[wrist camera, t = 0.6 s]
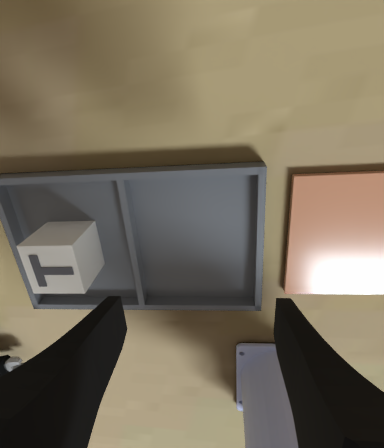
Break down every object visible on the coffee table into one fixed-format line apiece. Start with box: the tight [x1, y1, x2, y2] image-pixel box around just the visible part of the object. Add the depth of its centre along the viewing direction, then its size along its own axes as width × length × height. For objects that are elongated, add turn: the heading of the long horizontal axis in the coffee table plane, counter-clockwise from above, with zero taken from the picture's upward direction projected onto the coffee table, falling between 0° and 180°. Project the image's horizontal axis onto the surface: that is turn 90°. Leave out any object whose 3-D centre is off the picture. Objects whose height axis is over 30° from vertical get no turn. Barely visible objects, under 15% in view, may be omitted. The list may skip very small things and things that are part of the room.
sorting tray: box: [0, 162, 267, 311], centre depth 23 cm, size 12×20×2 cm, turn 94°
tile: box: [283, 170, 384, 294], centre depth 22 cm, size 10×10×1 cm
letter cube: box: [16, 221, 105, 294], centre depth 22 cm, size 4×4×4 cm
